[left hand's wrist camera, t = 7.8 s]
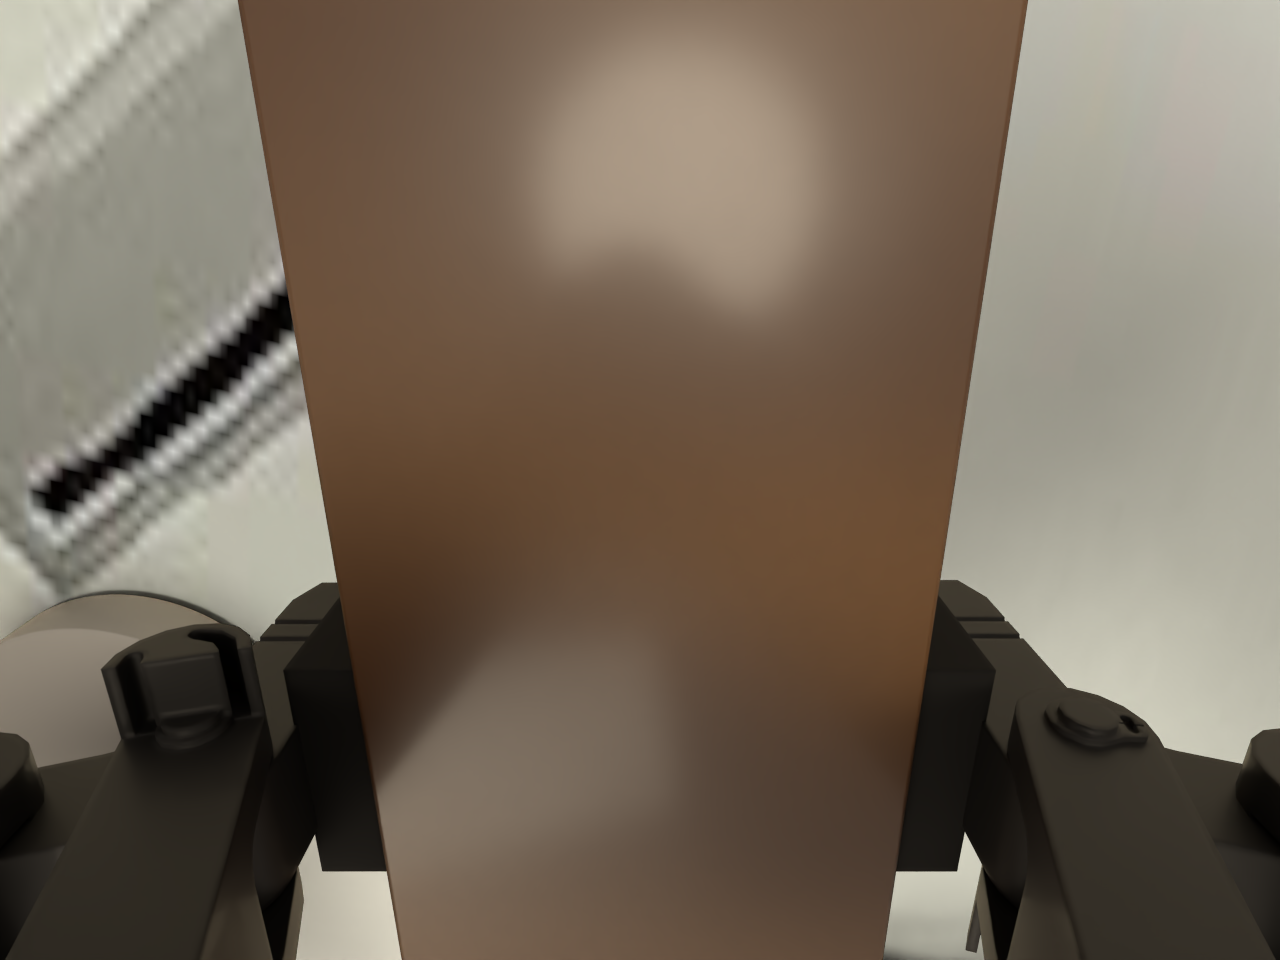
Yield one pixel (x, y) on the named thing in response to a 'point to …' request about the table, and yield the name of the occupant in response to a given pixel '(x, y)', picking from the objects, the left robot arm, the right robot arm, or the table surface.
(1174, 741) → the table surface
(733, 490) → the bar
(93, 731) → the bust sculpture
